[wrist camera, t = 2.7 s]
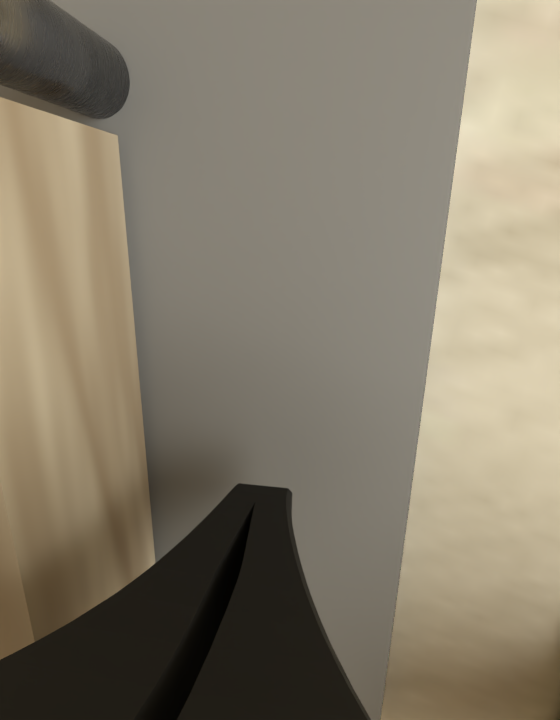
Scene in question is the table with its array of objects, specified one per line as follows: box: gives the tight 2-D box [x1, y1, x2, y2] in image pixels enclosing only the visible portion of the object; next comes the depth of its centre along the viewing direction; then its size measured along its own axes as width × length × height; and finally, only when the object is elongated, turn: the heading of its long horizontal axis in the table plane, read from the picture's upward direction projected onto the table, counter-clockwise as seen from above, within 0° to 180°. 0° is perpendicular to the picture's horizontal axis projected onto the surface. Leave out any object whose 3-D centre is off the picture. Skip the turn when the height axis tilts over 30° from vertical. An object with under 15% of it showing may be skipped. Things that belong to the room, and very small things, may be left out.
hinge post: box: [0, 0, 130, 119], centre depth 8 cm, size 2×2×7 cm
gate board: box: [0, 0, 477, 720], centre depth 13 cm, size 15×24×1 cm, turn 179°
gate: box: [0, 97, 155, 659], centre depth 10 cm, size 1×13×5 cm, turn 179°
